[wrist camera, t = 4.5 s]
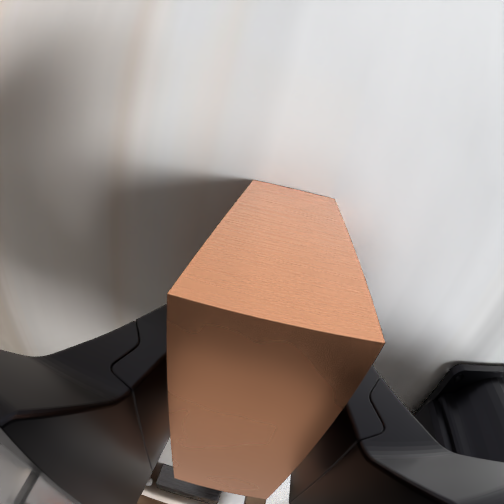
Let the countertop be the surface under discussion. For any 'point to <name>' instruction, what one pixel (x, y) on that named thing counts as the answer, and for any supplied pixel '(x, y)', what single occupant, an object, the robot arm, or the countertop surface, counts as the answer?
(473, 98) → the countertop surface
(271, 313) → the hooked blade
